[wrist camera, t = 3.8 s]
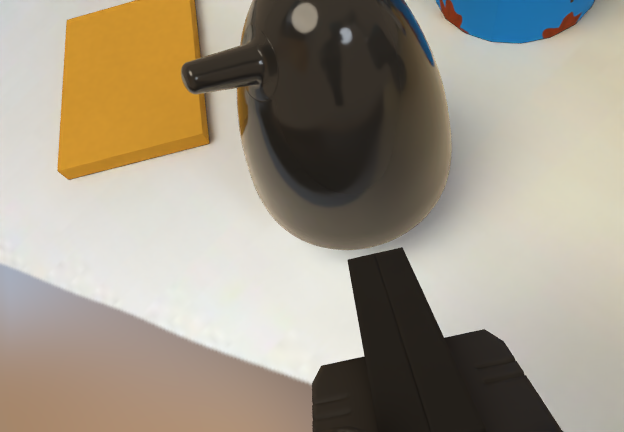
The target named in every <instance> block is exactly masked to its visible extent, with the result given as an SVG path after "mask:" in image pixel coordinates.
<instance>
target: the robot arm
mask: <svg viewBox="0 0 624 432" xmlns="http://www.w3.org/2000/svg"><path fill="white" fill-rule="evenodd" d="M348 265H349V271H350V277H351V282H352V288H353V293H354V299H355V305H356V310H357V316H358V321H359V327H360V333H361V338H362V344H363V349H364V355H365V357H360V358H356V359H351V360H346V361H341V362H337V363H332V364H327V365H323V366H321V368H320V369H319V371H318V373H317V375H316V377H315V379H314V381H313V383H312V402H313V406H312V410H313V432H563V431H562V430H561V428H560V427H559V425H558V424H557V422H556V421H555V419H554V418H553V416H552V415H551V413H550V411H549V410H548V408H547V407H546V405H545V404H544V402H543V401H542V399H541V398H540V396H539V395H538V393H537V392H536V390H535V389H534V387H533V386H532V384H531V382H530V381H529V379H528V378H527V376H526V375H524V372H523V370H522V369H521V367H520V366H519V364H518V363H517V361H515V359H514V357H513V355H512V353H511V352H510V350H509V349H508V347H507V346H506V344H505V343H504V341H502V340H501V339H499V338H498V337H496V336H494V335H493V334H491V333H490V332H488V331H486V330H485V329H484V330H479V331H474V332H469V333H465V334H460V335H455V336H451V337H446V338H444V337H443V335H442V332H441V330H440V328H439V326H438V324H437V322H436V319H435V317H434V315H433V313H432V311H431V309H430V306H429V304H428V302H427V300H426V298H425V295H424V293H423V291H422V289H421V287H420V285H419V282H418V280H417V278H416V276H415V274H414V272H413V269H412V267H411V265H410V263H409V261H408V258H407V256H406V254H405V252H404V250H403V248H402V247H401V248H397V249H393V250H388V251H384V252H380V253H375V254H371V255H366V256H362V257H358V258H353V259H349V260H348Z"/></svg>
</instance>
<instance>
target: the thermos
mask: <svg viewBox="0 0 624 432" xmlns="http://www.w3.org/2000/svg"><path fill="white" fill-rule="evenodd" d="M594 1H595V0H436V2H437V4H438V6H439V7H440V9H441V11H442V13H443V14H444V16H445V18H446V19H447V20H449V21H450V22H451V23H453V24H454V25H455V26H457V27H458V28H459V29H461V30H462V31H463V32H465V33H467V34H470V35H473V36H476V37H479V38H482V39H485V40H488V41H491V42H507V43H525V42H530V41H535V40H540V39H545V38H549V37H552V36H554V35H556V34H558V33H560V32H562V31H563V30H565V29H567V28H569V27H571V26H573V25H575V24H576V23H577V22H578V21H579V20H580V19H581V18H582V16H583V15H584V14H585V13H586V12H587V11H588V10H589V9H590V8H591V7H592V5H593V3H594Z"/></svg>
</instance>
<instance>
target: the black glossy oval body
mask: <svg viewBox="0 0 624 432" xmlns="http://www.w3.org/2000/svg"><path fill="white" fill-rule="evenodd" d="M181 78H182V81H183V84H184V86H185V88H186V89H187V90H188V91H189V92H190V93H192V94H202V93H208V92H214V91H221V90H227V89H233V88H237V109H238V122H239V130H240V136H241V142H242V146H243V151H244V155H245V159H246V162H247V166H248V169H249V172H250V175H251V178H252V181H253V184H254V186H255V189H256V191H257V193H258V195H259V197H260V199H261V201H262V203H263V204H264V206H265V208H266V209H267V211H268V212H269V213H270V215H271V216H272V217H273V218H274V220H275V221H276V222H277V223H278V224H279V225H280V226H281V227H283V228H284V229H285V230H286V231H288V232H289V233H291V234H292V235H294V236H295V237H297V238H299V239H301V240H303V241H305V242H307V243H310V244H313V245H316V246H320V247H324V248H329V249H337V250H356V249H364V248H370V247H374V246H378V245H381V244H384V243H387V242H389V241H392V240H394V239H396V238H398V237H400V236H402V235H403V234H405V233H407V232H408V231H410V230H411V229H412V228H414V227H415V226H416V225H418V224H419V223H420V222H421V221H422V220H423V219H424V218H425V217H426V216H427V215H428V214H429V213H430V211H431V210H432V209H433V207H434V206H435V205H436V203H437V202H438V200H439V198H440V196H441V194H442V192H443V190H444V188H445V185H446V182H447V179H448V175H449V169H450V163H451V130H450V121H449V113H448V106H447V101H446V95H445V91H444V87H443V83H442V80H441V76H440V73H439V70H438V67H437V64H436V61H435V59H434V56H433V54H432V51H431V49H430V47H429V44H428V42H427V40H426V38H425V36H424V34H423V32H422V30H421V28H420V26H419V24H418V22H417V21H416V19H415V17H414V15H413V14H412V12H411V10H410V9H409V7H408V6H407V4H406V3H405V1H404V0H253V1H252V3H251V6H250V8H249V11H248V14H247V17H246V20H245V23H244V27H243V31H242V36H241V43H240V46H237V47H234V48H231V49H228V50H225V51H221V52H218V53H215V54H212V55H208V56H205V57H202V58H199V59H195V60H192V61H189V62H186V63H184V64H183V66H182V68H181Z"/></svg>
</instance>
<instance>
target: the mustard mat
mask: <svg viewBox="0 0 624 432" xmlns="http://www.w3.org/2000/svg"><path fill="white" fill-rule="evenodd" d="M199 58H201V57H200V47H199V37H198V27H197V18H196V8H195V0H136V1H132V2H129V3H125V4H122V5H118V6H115V7H111V8H108V9H104V10H101V11H97V12H94V13H90V14H86V15H83V16H79V17H76V18H72V19H69V20H67V25H66V41H65V58H64V74H63V90H62V106H61V122H60V138H59V154H58V172H59V173H61V174H62V175H63V176H64V177H66V178H67V179H73V178H77V177H81V176H84V175H88V174H92V173H96V172H100V171H104V170H108V169H112V168H116V167H120V166H123V165H127V164H131V163H135V162H139V161H143V160H147V159H151V158H155V157H159V156H162V155H166V154H170V153H174V152H178V151H182V150H186V149H190V148H194V147H198V146H201V145H205V144H209V135H208V125H207V116H206V106H205V96H204V93H202V94H192V93H190V92H189V91H188V90H187V89H186V88H185V86H184V84H183V81H182V78H181V68H182V66H183V64H184V63H186V62H189V61H192V60H195V59H199Z"/></svg>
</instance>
